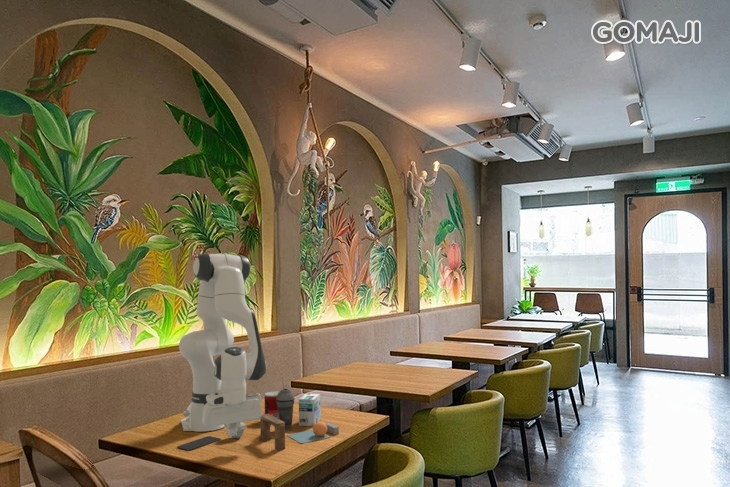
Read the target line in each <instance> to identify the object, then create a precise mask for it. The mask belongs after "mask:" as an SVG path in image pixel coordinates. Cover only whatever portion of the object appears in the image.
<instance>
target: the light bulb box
mask: <svg viewBox="0 0 730 487" xmlns="http://www.w3.org/2000/svg"><path fill="white" fill-rule="evenodd" d="M321 396H322V395H321V393H305V394H303V395H302V396H301V397H300V398H298V425H299V426H298V427H300V426H301V427H313V426H314V424H315V423H317V422H320V421H321V420H322V414H321V413H322V410H321V409H322V406H321V405H322V403H321V400H322V399H321Z"/></svg>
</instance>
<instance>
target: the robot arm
mask: <svg viewBox="0 0 730 487" xmlns="http://www.w3.org/2000/svg"><path fill="white" fill-rule="evenodd" d="M192 267H193V268H192V269H193V274H194V277H195V278H197V279H198V280H199V281H200V283H199V286H198V287H199V288H198V295H197V305H196V315H197V316H198V318H199V319H200V320H202V323H203V324H202V325H203V329H202V330H195V331H192V332H189V333H187V334H185V335H183V336H182V337H181V339H180V340H179V344H178V350H179V353H180V354H181V356H182V357H183V358H184V359H185V360H187V362H188V364H189V367H190V368H191V371H192V392H191V399H190V400H191V403H190V404H189V405H188V407H187V408H186V410H184V411H183V417H185V418H182V419H180V420H181V421H180V422H181V423H180V425H181V426H182V430H183V431H184V432H199V433H200V432H210V431H217V430H221V429H223V428H225V429H226V434H227V435H226V436H227V437H232V436H236V435H237V430H238V428H239V427H240V422H242V423H244V422H252V421H260V418H261V416H262V415H263V414H262V411H263V410H262V400H263V398H262V395H261V394H260V393H258V392H253V393H247V382H246V381H259V380H260V379H261V378H262V377H263V376H264V375H265V374H266V373H267V362H266V358H265V355H264V351H263V347H262V342H261V335H260V331H259V325H258V321H257V317H256V314H255V312H254V310H253V309H252V308H250V307H249V306H248V304H247V301H246V290H245V282H244V281H246V279H248V278H249V276H250V274H251V262H250V260H249V259H248V257H246V256H244V255H240V254H238V255H237V254H236V255H235V254H229V253H206V252H205V253H200V254H198V255H197V256H196V257H195V259H194V262H193V266H192ZM227 321H229V322H232V323H235V324H238V325H240V326H242V327H243V328H244V329H245V331H246V334H247V339H248V344H249V350H250V351H249V352H246V350H245V349H244V348H242V347H238V346H234V343H235V338H234V334H233V333H232V331H231V330H230V329H229V328H228V325H227ZM217 355H218V356H217ZM215 356H217V357H216V359H214V357H215ZM231 423H235V425H236V426H235V427H234V429H233V430H230V429H229V428H228V427H230V424H231Z"/></svg>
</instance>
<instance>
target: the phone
mask: <svg viewBox="0 0 730 487" xmlns="http://www.w3.org/2000/svg"><path fill="white" fill-rule="evenodd" d="M221 440H222V438H220V437H216V436H211V435H207V436H204V437H201V438H198V439H195V440H192V441H189V442H185V443H183V444H180V445H178V446H177V447H176V449H179V450H182V451H186V452H191V451H194V450H197V449H201V448H203V447H205V446H208V445H210V444H214V443H217V442H219V441H221Z"/></svg>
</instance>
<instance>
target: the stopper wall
mask: <svg viewBox="0 0 730 487" xmlns="http://www.w3.org/2000/svg"><path fill="white" fill-rule="evenodd" d="M324 423H325V424H326V425H327V432H326V433H329V434H332V435H334V436H335V435H339V432H340V431H339V430H340V429H339V426H337V425H335V424H332V423H330V422H324Z"/></svg>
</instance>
